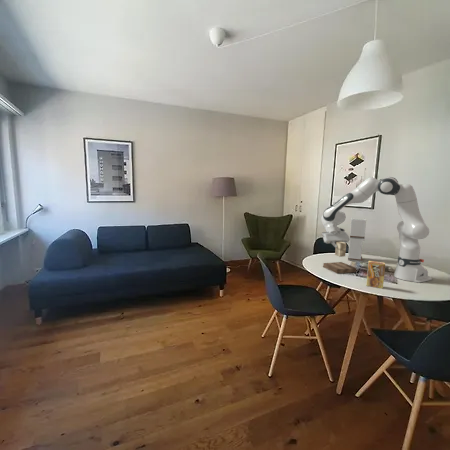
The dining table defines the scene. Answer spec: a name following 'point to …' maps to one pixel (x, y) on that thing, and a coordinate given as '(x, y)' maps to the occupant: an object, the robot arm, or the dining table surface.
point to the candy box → (375, 274)
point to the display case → (356, 239)
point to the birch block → (340, 249)
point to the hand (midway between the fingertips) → (340, 247)
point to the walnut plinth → (339, 267)
